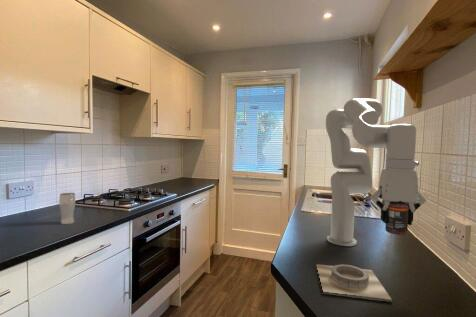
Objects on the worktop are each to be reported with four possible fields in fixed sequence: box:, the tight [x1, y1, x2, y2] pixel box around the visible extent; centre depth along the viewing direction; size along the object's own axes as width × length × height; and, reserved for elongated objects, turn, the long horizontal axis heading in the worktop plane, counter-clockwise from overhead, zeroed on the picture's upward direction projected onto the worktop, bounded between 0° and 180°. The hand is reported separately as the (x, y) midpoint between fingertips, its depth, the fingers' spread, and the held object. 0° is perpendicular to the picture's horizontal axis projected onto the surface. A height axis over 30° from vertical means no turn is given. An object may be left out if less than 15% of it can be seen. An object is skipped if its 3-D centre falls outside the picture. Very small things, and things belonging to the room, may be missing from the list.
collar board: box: [316, 263, 393, 302], centre depth 84 cm, size 18×18×4 cm
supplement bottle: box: [384, 201, 409, 236], centre depth 83 cm, size 6×6×11 cm
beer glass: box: [58, 192, 76, 225], centre depth 138 cm, size 7×7×15 cm
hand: (396, 222), depth 83 cm, fingers closed on supplement bottle, 5 cm apart
